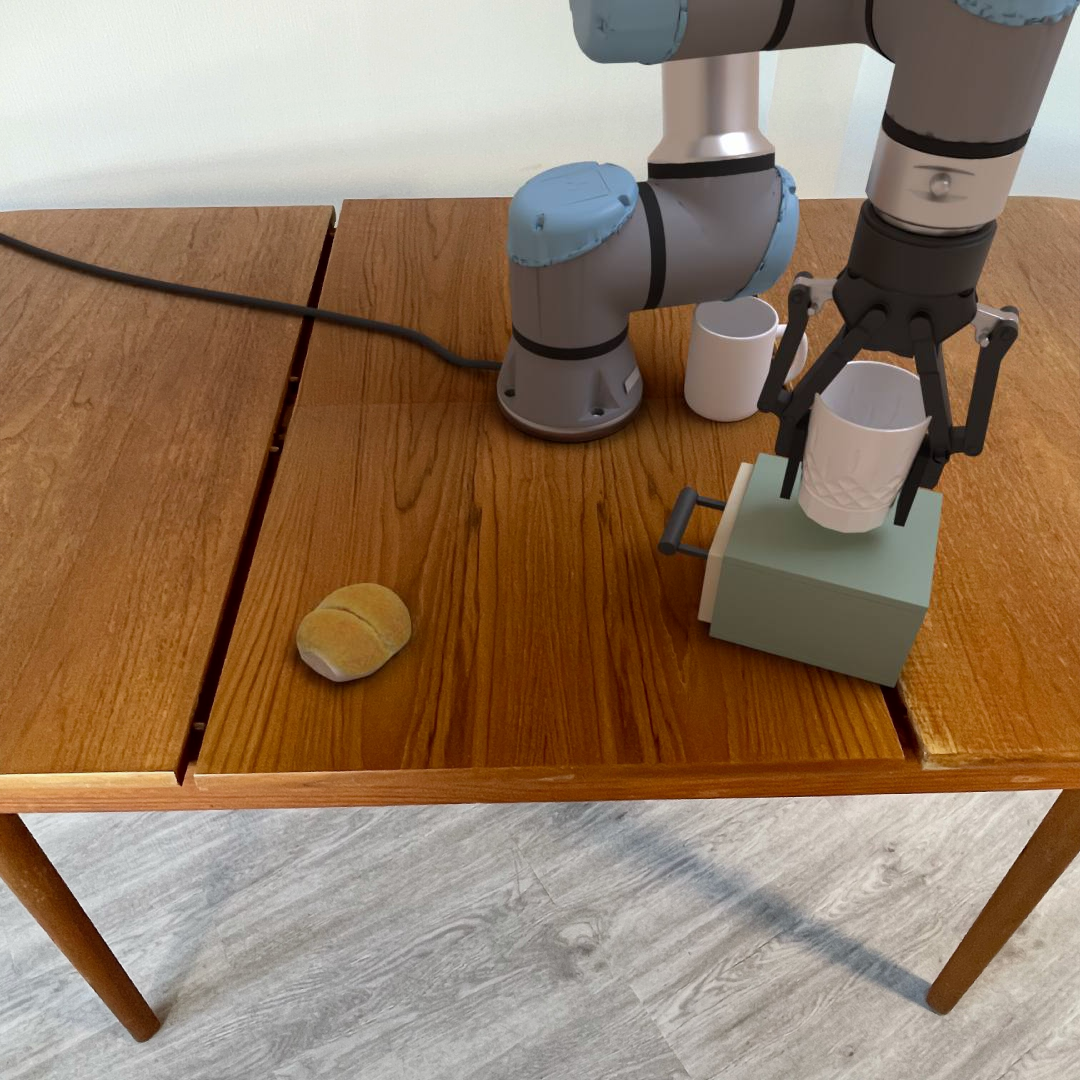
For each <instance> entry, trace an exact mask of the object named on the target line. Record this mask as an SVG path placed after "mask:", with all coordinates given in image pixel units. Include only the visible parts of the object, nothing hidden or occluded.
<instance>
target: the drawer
mask: <svg viewBox="0 0 1080 1080" xmlns="http://www.w3.org/2000/svg"><path fill="white" fill-rule="evenodd" d="M754 466H755V464H752V463H748V462H744V461H742V462H741V463H740V466H739V468H738V471H737V473H736V476H735V479H734V482H733V484H732V487H731V490H730V493H729V496H728V498H727V501H724V500H719V499H716V498H711V497H707V496H703V495H699V492H698V491H697V490H696V489H695V488H693V487H690V486H686V487H685V486H684V487H683V488H681V490H680V491H679V493H678V496H677V499H676V501H675V503H674V505H673V508H672V510H671V513H670V514H669V518H668V520H667V522H666V525H665V527H664V529H663V532H662V534H661V537H660V539H659V541H658V543H657V550H658V551H659V553H660V554H662V555H663V556H667V557H673V556H675V555H676V554H677V553H678V554H683V555H686V556H689V557H693V558H697V559H701V560H704V561H705V560H706V566H705V573H704V577H703V584H702V589H701V590H702V591H701V597H700V602H699V608H698V615H697V620H698V621H702V622H706V623H708V624H711V622H712V616H713V610H714V605H715V599H716V594H717V588H718V583H719V577H720V572H721V566H722V562H723V555H724V552H725V549H726V547H727V544H728V541H729V538H730V535H731V532H732V529H733V526H734V523H735V521H736V518H737V515H738V512H739V509H740V506H741V503H742V500H743V498H744V495H745V492H746V489H747V486H748V483H749V480H750V477H751V474H752V472H753V469H754ZM696 506H701V507H704V508H709V509H713V510H717V511H720V512H723V513H722V515H721V518H720V520H719V523H718V526H717V529H716V531H715V534H714V538H713V540H712V543H711V546H710V548H709V549H705V548H701V547H698V546H694V545H690V544H686V543H682V539H683V537H684V535H685V533H686V530H687V527H688V525H689V522H690V520H691V517H692V515H693V512H694V509H695V507H696Z"/></svg>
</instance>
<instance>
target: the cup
mask: <svg viewBox="0 0 1080 1080" xmlns="http://www.w3.org/2000/svg"><path fill="white" fill-rule="evenodd" d="M779 320H780V319H779V314H778V312H777V311H776V309H775V308H774V307H773V306H772V305H771V304H770V303H768V302H766V301H764V300H763V299H761V298H759V297H755V296H754V295H752V296H746V297H741V298H737V299H735V300H733V301H731V302H723V301H713V302H705V303H697V304H696V305H695V306H694V308H693V310H692V318H691V325H690V326H691V327H690V333H689V342H688V344H689V345H688V351H687V360H686V368H685V378H684V386H683V387H684V388H683V389H684V390H683V394H684V398H685V402H686V403H687V405H688V406H689V408H690V409H691V410H692V411H693V412H694V413H695V414H697V415H699V416H701V417H703V418H705V419H708V420H711V421H716V422H724V423H725V422H726V423H728V422H731V423H732V422H737V421H741V420H745V419H748V418H750V417H751V416H753V415H754V414H755V413H757V412H758V411H759V410H758V409H757V402H758V399H759V396H760V394H761V391H762V388H763V386H764V383H765V380H766V378H767V375H768V373H769V370H770V367H771V364H772V357H773V352H774V348H775V347H774V346H775V342H776V339H782V336H783V334H784V331H785V329H786V326H787V323H785V324H779ZM808 343H809V342H808V336H807V334H806V331H805V332H804V335H803V337H802V340H801V342H800V345H799V347H798V350H797V352H796V355H795V357H794V360H793V362H792V365H791V367H790V370H789V372H788V374H787V377H786V379H785V382H784V384H783V386H785V385H786V384H789V383H791V382H792V381H794V380H795V379H797V377H798V376H799V375H800V374H801V372H802V370H803V369H804V367H805V364H806V361H807V357H808V350H809V349H808V348H809V344H808Z"/></svg>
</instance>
